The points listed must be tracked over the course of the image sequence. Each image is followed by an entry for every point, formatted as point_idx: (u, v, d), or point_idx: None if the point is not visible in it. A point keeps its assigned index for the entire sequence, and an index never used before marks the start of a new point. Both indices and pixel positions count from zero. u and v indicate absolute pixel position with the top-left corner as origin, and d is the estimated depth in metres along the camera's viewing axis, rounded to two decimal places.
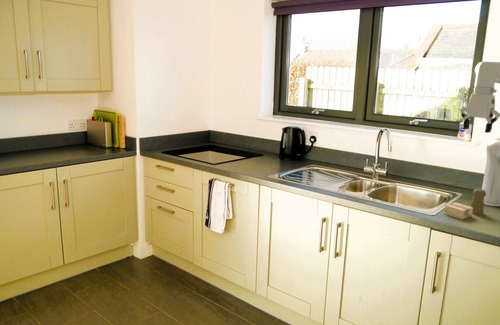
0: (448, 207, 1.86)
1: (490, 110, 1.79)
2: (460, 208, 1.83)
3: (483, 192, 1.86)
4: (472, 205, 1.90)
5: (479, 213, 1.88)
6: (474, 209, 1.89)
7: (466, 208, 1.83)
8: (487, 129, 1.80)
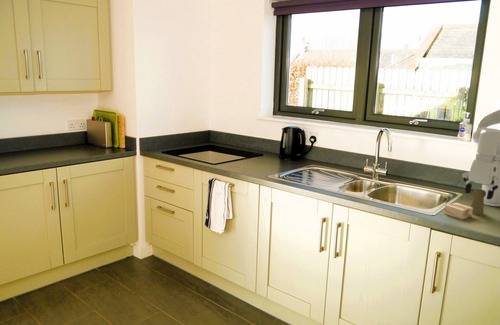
0: (448, 207, 1.86)
1: (492, 178, 1.82)
2: (460, 208, 1.83)
3: (483, 192, 1.86)
4: (472, 205, 1.90)
5: (479, 213, 1.88)
6: (474, 209, 1.89)
7: (466, 208, 1.83)
8: (489, 196, 1.83)
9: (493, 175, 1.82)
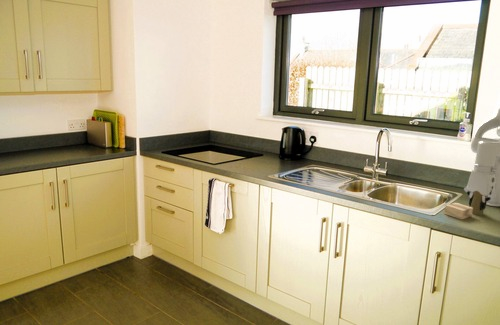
0: (448, 207, 1.86)
1: (490, 188, 1.83)
2: (460, 208, 1.83)
3: None
4: (472, 205, 1.90)
5: (479, 213, 1.88)
6: (474, 209, 1.89)
7: (466, 208, 1.83)
8: (481, 207, 1.87)
9: (491, 186, 1.83)
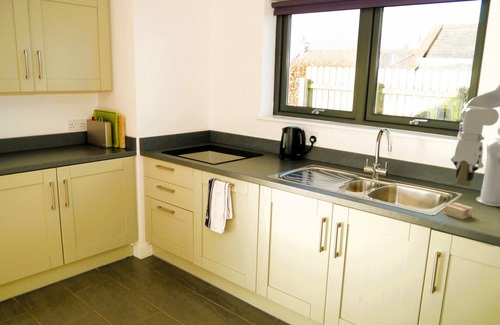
0: (448, 207, 1.86)
1: (478, 157, 1.76)
2: (460, 208, 1.83)
3: None
4: (459, 176, 1.82)
5: (466, 184, 1.80)
6: (461, 180, 1.81)
7: (466, 208, 1.83)
8: (469, 177, 1.80)
9: (479, 155, 1.76)
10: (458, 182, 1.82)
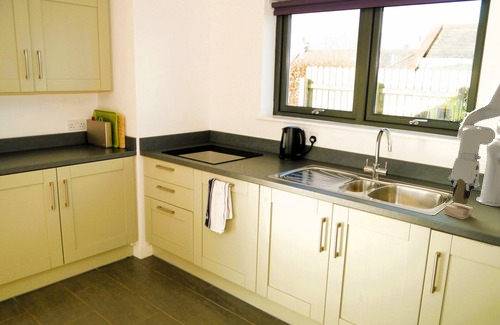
0: (448, 207, 1.86)
1: (474, 176, 1.78)
2: (460, 208, 1.83)
3: None
4: (456, 194, 1.84)
5: (463, 202, 1.82)
6: (458, 198, 1.83)
7: (466, 208, 1.83)
8: (465, 196, 1.81)
9: (475, 174, 1.78)
10: (455, 200, 1.84)
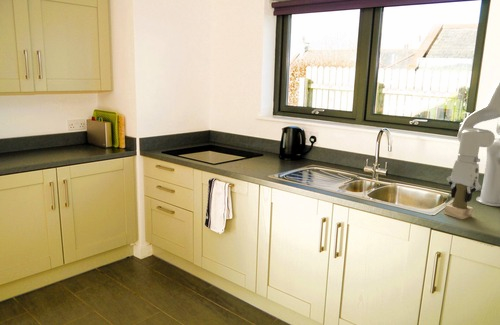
0: (448, 207, 1.86)
1: (474, 179, 1.78)
2: (460, 208, 1.83)
3: None
4: (455, 198, 1.84)
5: (462, 207, 1.83)
6: (457, 202, 1.83)
7: (466, 208, 1.83)
8: (467, 198, 1.81)
9: (475, 176, 1.78)
10: (454, 205, 1.84)
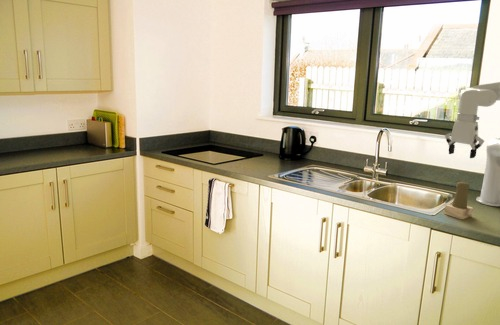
0: (448, 207, 1.86)
1: (474, 137, 1.84)
2: None
3: (466, 185, 1.81)
4: (455, 198, 1.84)
5: (462, 207, 1.83)
6: (457, 202, 1.83)
7: (466, 208, 1.83)
8: (472, 155, 1.86)
9: (475, 134, 1.84)
10: (454, 205, 1.84)
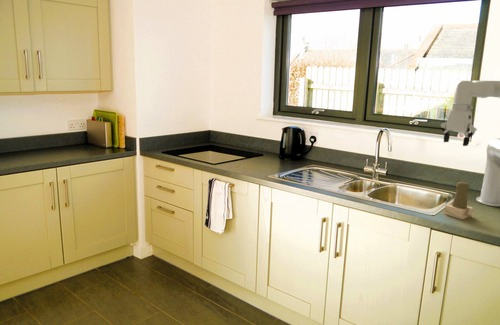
0: (448, 207, 1.86)
1: (467, 125, 1.93)
2: None
3: (466, 185, 1.81)
4: (455, 198, 1.84)
5: (462, 207, 1.83)
6: (457, 202, 1.83)
7: (466, 208, 1.83)
8: (465, 143, 1.95)
9: (468, 123, 1.94)
10: (454, 205, 1.84)
